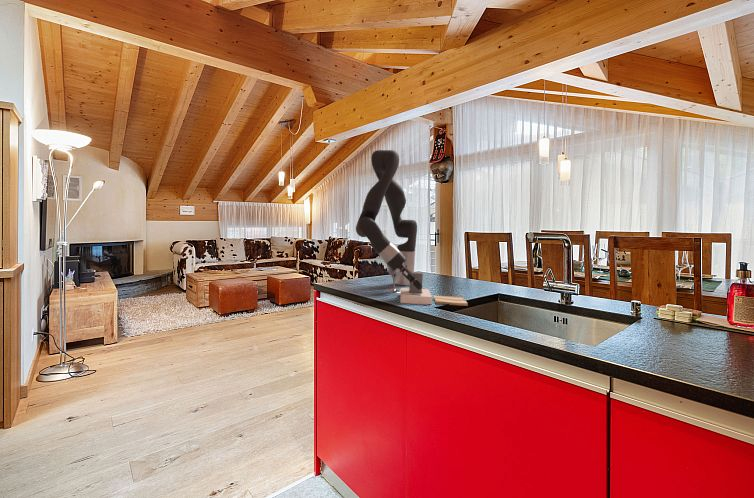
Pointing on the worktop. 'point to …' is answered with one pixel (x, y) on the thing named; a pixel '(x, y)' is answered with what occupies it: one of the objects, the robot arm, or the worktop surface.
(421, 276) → the grey rectangular block
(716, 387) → the worktop surface
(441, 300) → the rest pad
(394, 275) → the wine glass
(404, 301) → the pinkish tan rectangular slab
